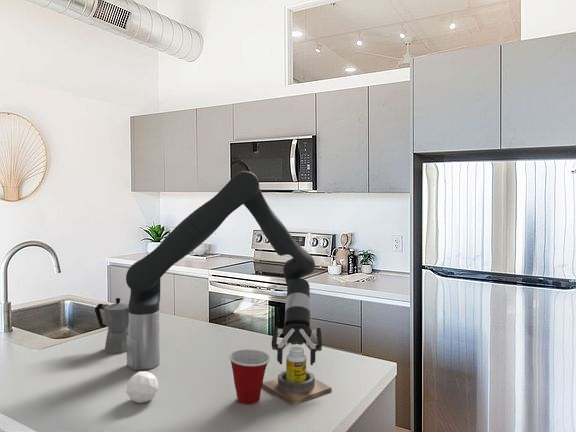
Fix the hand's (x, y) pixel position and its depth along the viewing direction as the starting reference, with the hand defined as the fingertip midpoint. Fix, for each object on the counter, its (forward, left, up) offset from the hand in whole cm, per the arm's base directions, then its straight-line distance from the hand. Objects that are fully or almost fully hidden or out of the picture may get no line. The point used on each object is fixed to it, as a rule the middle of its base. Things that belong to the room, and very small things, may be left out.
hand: (296, 363), depth 124 cm
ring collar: (+1, +1, -8) cm, 8 cm away
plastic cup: (-13, +3, -8) cm, 16 cm away
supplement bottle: (+1, +1, -7) cm, 7 cm away
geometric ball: (-36, +19, -8) cm, 42 cm away
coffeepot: (-30, +63, -8) cm, 70 cm away
